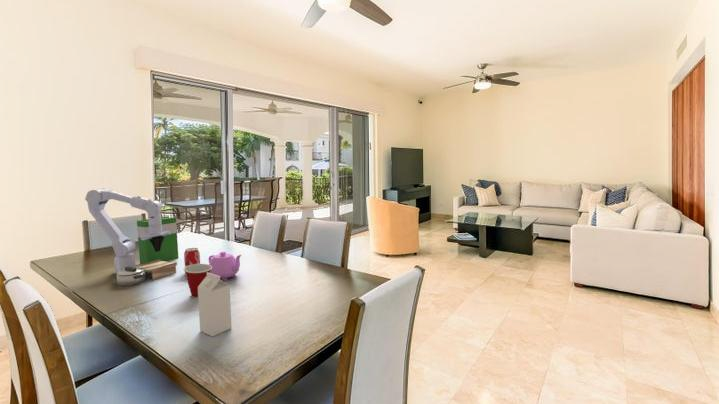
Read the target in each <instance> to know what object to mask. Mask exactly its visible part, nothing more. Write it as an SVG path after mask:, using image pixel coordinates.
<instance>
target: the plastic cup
mask: <svg viewBox="0 0 719 404" xmlns="http://www.w3.org/2000/svg"><path fill="white" fill-rule="evenodd" d="M211 269H212V266H211V265H209V263H208V264H207V263H200V264H193V265H189V266H186V267H185V266H184V267H183V272H184V274H185V277H186V281H187V284H188V288H189V291H190V295H191V296H192V297H193V298H198V286H199V285H200V284H201V282H202V281H203V280H204V279H205V277H206V276H207V272H208V273H210V270H211Z"/></svg>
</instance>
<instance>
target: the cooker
mask: <svg viewBox="0 0 719 404" xmlns="http://www.w3.org/2000/svg"><path fill="white" fill-rule="evenodd" d="M115 275H116V284H117V286H118V287H119V286H120V287H129V286H135V285H139V284H142V283H144V282H145V281H146V277H147V274H145V270H144V271H143V272H141V273H138V274H134V275H126V276H121V275H117V273H116V274H115Z"/></svg>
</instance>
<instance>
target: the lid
mask: <svg viewBox="0 0 719 404" xmlns="http://www.w3.org/2000/svg"><path fill="white" fill-rule="evenodd" d="M143 271H144V268H142V267H129V266H128V267H125V269H123V270H120V271H118V272H117V275H121V276H126V275H134V274H138V273H141V272H143Z"/></svg>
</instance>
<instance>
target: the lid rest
mask: <svg viewBox="0 0 719 404" xmlns="http://www.w3.org/2000/svg"><path fill="white" fill-rule="evenodd" d="M177 266H178V262H177V261H176V262H171V261H161V260H160V259H159V260H156V261H152V262H148V263H145V264H138V265H137V264H136V265H135V267H142V268H144V270H145V274H146V275H148V274H151V280H156V279H159V278H163V277H166V276H169V275H172V274H175V273H177Z"/></svg>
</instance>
